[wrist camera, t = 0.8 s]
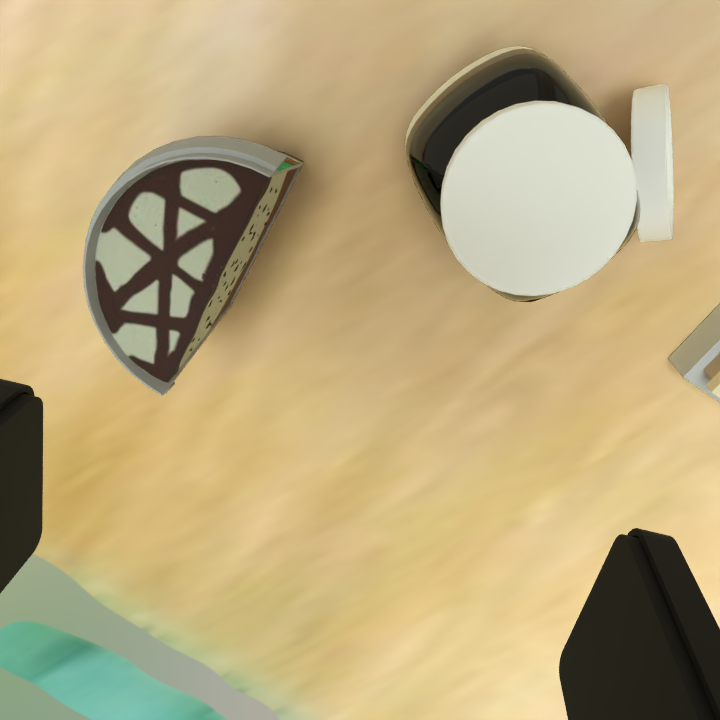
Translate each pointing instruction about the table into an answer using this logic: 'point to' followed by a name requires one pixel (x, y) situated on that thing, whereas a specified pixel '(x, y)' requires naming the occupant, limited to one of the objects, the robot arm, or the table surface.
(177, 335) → the food container
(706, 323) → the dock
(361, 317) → the table surface
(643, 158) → the spread jar
